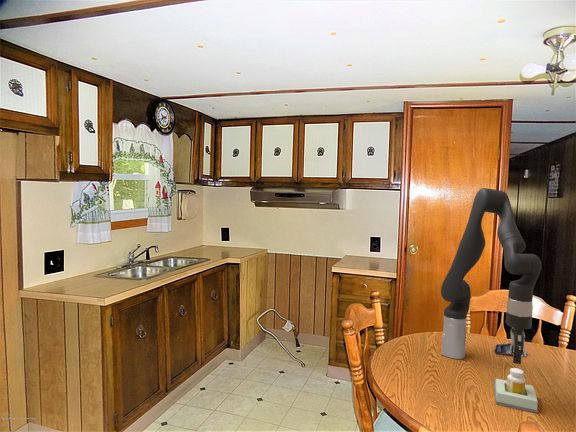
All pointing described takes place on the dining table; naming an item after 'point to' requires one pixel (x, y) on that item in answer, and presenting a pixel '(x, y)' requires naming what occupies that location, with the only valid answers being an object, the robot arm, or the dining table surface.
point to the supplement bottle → (516, 381)
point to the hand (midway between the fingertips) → (515, 358)
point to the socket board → (515, 397)
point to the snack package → (507, 349)
